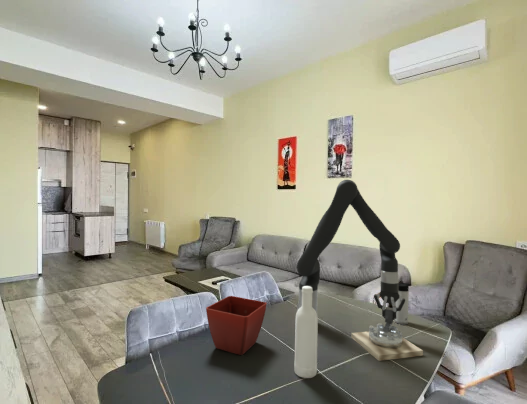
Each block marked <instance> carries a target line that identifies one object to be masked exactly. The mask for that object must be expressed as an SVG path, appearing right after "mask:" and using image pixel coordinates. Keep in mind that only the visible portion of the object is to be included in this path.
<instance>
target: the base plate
mask: <svg viewBox="0 0 527 404" xmlns="http://www.w3.org/2000/svg"><path fill="white" fill-rule="evenodd" d="M350 337H351V338H352V340H354V341H355V342H356V343H357V344H358V345H360V346H361V348H363V349H364V350H365V351H366V352H368V353H369V354H370V355H371V356H372V357H373V358H375V359H376V360H377V361H379V362H380V361H387V360H388V361H389V360H397V359H406V358H413V357H421V356H422V357H423V356H424V350H423V349H421V348H420V347H418V346H416V345H415V344H413V343H412V342H410V341H409V340H407V338H404V337H403V336H402V345H401V346H400V347H398V348H386V347H382V346H378V345H376V344H374V343H372V342H371V341H370V340H369V330H368V331H359V332H358V331H357V332H351V336H350Z"/></svg>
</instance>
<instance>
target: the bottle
mask: <svg viewBox="0 0 527 404" xmlns="http://www.w3.org/2000/svg"><path fill="white" fill-rule="evenodd" d="M312 293H313V290H312V287H310V286H303V287H302V306H301V307H300V308H299V309H298V311H297V310H296V313H295V322H294V323H295V325H294V326H295V327H294V329H295V332H294V334H295V335H294V362H293V363H294V364H293V365H294V368H293V369H294V373H295V375H297V376H298V377H300V378H303V379H312V378H314V377H315V376H317V373H318V329H319V328H318V327H319V326H318V325H319V323H318V322H319V316H318V312H317V313H316V311H315V310H314V309H313V307H312Z"/></svg>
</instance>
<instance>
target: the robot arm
mask: <svg viewBox="0 0 527 404" xmlns="http://www.w3.org/2000/svg"><path fill="white" fill-rule="evenodd" d="M349 206H351V207H352V209H353V210H354V211H355V212H356V214H357V216H358V217H359V220H361V222H362V223H363V225H364V227H366V229H367V230H368V232H369V233H370V234H371V235H372V236H373V237H374V238H376V240H378V242H379V252H380V253H379V254H380V259H381V260H380V261H381V264H380V265H381V268H380V269H381V271H380V292H378V293H374V295H373V298H374V301H375V304H376V306H377V308H378V309H381V316H382V317H383V319H385V309H386V306H387V304H390V305H392V307H391V308H393V321H394V320H395V319H396V312H397V311H401V309H402V307H403V305H404V303H405V298H402V297H400V295H399V293H398V283H399V279H400V277H399V262H398V259H397V258H396V253H398V252H399V251H400V248H401V244H400V241H399V239H398V238H397V236H395V235H394V234H393V233H392V232H391V231H390V230H389V229H388V228H387V226H386V225H385V224H384V222H383V221H382V220H381V219H380V217H379V216H378V215H377V213H375V211H374V210H373V209H372V208H371V207H370V206H369V205H368V203H367V202H366V200H365V199H364V197H363V196H362V194H361V192H360V190H359V188H358V185H357V184H356V182H354V181H353V180H350V179H344V180H341V181H340V182H339V183H338V185H337V187H336V190H335V194H334V196H333V199H332V201H331V204H330V205H329V206H328V208H327V210H325V212H324V214H323V215H322V217H321V218H320V220H319V222H318V224H317V226H316V228H315V230H314V233H313V235H312V236H311V238H310V240H309V242H308V245H307V247H306V248H305V250H304V252H303V253H302V254H301V256H300V258H299V259H298V261H297V262H296V270H297V273H298V274H299V275H300V276H302V277H301V280H300V281H299V283H298V302H297V303H296V312H297V311H298V309H299V308H300V307H301V306H302V287H303V286H310V287H312V290H313V293H312V307H313V309H314V310H315V311H316V313H317V314H318V292H319V291H318V288H319V284H320V279H321V278H320V276H321V273H320V272H321V263H320V261H319V258H320V255H321V254H322V252H323V251H325V249H326V248H327V247H328V246H329V244H331V242H332V241H333V239H334V238H335V236H336V234H337V232H338V230H339V227H340V226H341V223H342V221H343V218H344V215H345V213H346V212H347V210H348V208H349ZM380 298H381V300H382V304H381V302H380ZM398 299H400V302H401V303H400V305H399V307H398V308H396V303H395V302H396V301H397V300H398Z"/></svg>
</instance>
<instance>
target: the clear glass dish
mask: <svg viewBox="0 0 527 404" xmlns="http://www.w3.org/2000/svg"><path fill="white" fill-rule="evenodd" d="M384 322H385V325H384V323H376V326H375V325H372V324H370V325H369V327H368V331H369V340H370V341H371V342H372V343H374V344H376V345H378V346H382V347H386V348H398V347H400V346H401V345H402V337H403V332H402V331H398V329H399V328H398V327H397V326H394V325H392V324H393V323H394V320H393V307H385V318H384Z"/></svg>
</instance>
